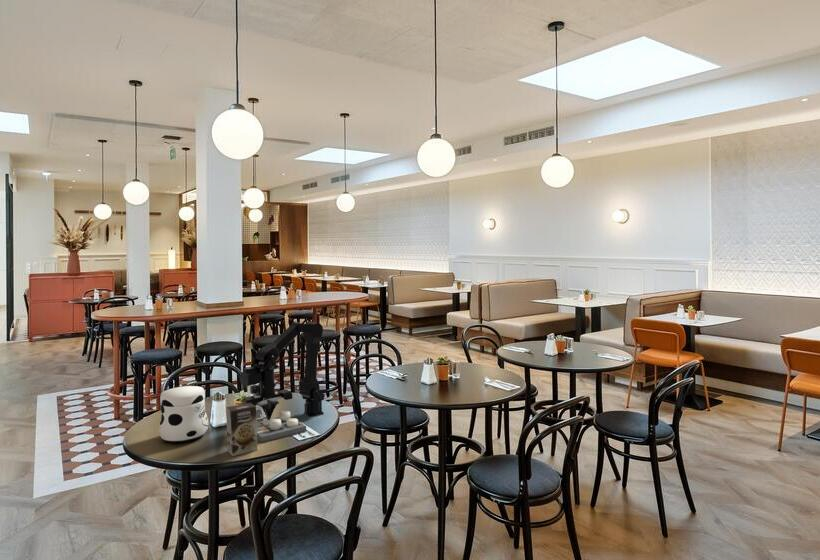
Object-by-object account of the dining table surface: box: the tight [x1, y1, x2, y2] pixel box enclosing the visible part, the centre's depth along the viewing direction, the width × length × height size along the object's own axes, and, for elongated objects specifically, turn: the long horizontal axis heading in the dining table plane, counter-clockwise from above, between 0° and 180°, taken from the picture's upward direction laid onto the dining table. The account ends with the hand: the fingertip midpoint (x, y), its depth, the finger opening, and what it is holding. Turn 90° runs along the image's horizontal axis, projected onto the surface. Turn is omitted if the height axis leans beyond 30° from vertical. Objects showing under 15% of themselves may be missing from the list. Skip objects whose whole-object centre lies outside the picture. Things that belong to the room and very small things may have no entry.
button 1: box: [262, 417, 275, 427], centre depth 205 cm, size 4×4×3 cm
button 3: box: [278, 410, 292, 421], centre depth 209 cm, size 4×4×3 cm
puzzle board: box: [257, 416, 307, 444], centre depth 203 cm, size 18×17×3 cm
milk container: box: [158, 385, 209, 443], centre depth 197 cm, size 17×17×18 cm
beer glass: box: [247, 383, 266, 421], centre depth 218 cm, size 7×7×15 cm
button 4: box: [287, 417, 299, 428], centre depth 203 cm, size 4×4×3 cm
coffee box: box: [225, 403, 258, 457], centre depth 183 cm, size 9×6×16 cm
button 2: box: [269, 419, 281, 430], centre depth 199 cm, size 4×4×3 cm
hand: (268, 419), depth 204 cm, fingers closed, pressing on button 1
